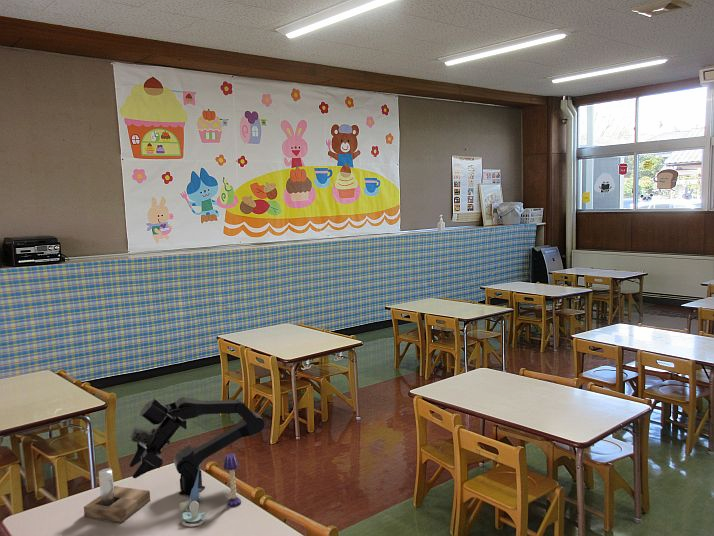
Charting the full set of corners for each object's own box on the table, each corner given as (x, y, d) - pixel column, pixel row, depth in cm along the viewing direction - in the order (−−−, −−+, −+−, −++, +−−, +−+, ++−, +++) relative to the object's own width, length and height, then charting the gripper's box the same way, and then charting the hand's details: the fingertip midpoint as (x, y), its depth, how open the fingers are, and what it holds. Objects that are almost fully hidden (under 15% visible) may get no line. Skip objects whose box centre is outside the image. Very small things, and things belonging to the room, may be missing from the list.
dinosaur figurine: (191, 512, 194) (178, 510, 186) (200, 464, 201) (188, 460, 192) (199, 513, 194) (186, 511, 185) (208, 465, 200) (196, 461, 192)
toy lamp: (237, 508, 189) (234, 458, 187) (223, 507, 190) (220, 457, 188) (243, 500, 193) (240, 451, 191) (229, 499, 194) (226, 451, 192)
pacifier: (202, 528, 178) (208, 517, 184) (200, 509, 177) (207, 498, 183) (178, 528, 179) (185, 516, 185) (177, 508, 178) (184, 498, 184)
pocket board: (150, 500, 195) (149, 490, 195) (121, 523, 182) (120, 512, 182) (115, 495, 199) (114, 486, 199) (84, 517, 186) (83, 506, 186)
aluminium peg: (117, 506, 191) (114, 468, 190) (112, 513, 187) (108, 473, 186) (105, 506, 191) (102, 468, 190) (99, 513, 188) (96, 474, 186)
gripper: (141, 410, 200) (109, 448, 197) (148, 428, 183) (113, 470, 180) (167, 427, 204) (136, 465, 201) (176, 447, 188) (143, 488, 184)
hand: (131, 471), depth 191 cm, fingers open, 9 cm apart
